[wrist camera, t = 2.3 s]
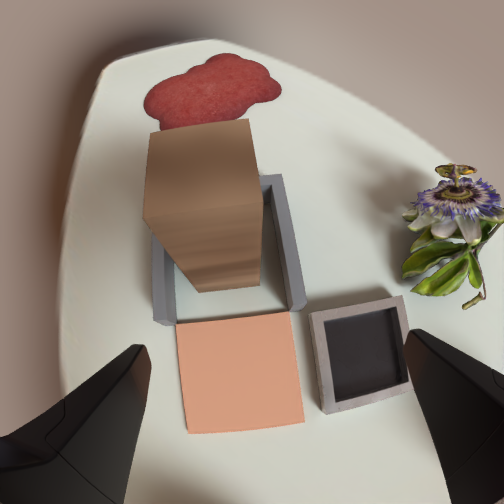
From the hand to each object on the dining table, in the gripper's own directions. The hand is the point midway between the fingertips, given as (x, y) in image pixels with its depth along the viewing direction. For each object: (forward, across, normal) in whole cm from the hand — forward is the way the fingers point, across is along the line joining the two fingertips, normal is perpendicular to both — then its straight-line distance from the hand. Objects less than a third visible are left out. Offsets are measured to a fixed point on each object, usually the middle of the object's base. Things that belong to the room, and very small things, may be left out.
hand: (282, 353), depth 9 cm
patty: (+32, +5, -12) cm, 35 cm away
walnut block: (+16, +3, +4) cm, 16 cm away
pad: (+9, +2, +10) cm, 14 cm away
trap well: (+10, -8, +10) cm, 16 cm away
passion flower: (+16, -18, +4) cm, 24 cm away
